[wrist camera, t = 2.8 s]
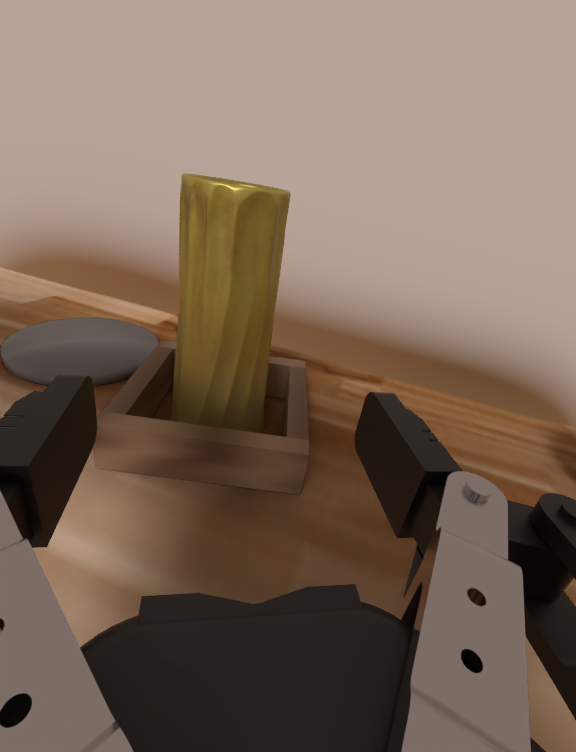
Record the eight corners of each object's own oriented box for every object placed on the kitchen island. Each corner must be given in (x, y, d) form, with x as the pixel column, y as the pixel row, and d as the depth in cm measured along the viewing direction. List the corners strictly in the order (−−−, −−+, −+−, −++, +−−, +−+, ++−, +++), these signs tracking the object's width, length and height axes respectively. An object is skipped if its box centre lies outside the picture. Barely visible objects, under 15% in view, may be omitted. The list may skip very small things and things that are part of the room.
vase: (150, 419, 24) (143, 166, 17) (220, 388, 28) (237, 179, 22) (215, 468, 21) (239, 186, 14) (282, 425, 26) (324, 197, 19)
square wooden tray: (95, 468, 20) (90, 425, 18) (162, 372, 29) (162, 339, 28) (300, 494, 20) (309, 455, 19) (299, 392, 30) (305, 361, 28)
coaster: (-37, 373, 25) (-41, 362, 25) (56, 318, 35) (55, 310, 34) (128, 396, 26) (127, 386, 25) (174, 336, 35) (174, 328, 35)
